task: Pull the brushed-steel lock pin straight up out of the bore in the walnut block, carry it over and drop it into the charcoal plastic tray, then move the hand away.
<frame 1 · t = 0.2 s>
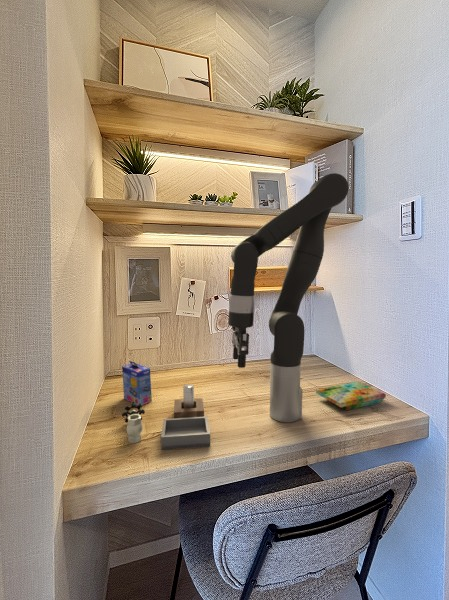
hand: (238, 362, 94), 18 cm above the table, tool pointing down, fingers open, 8 cm apart
ink cartridge box: (137, 400, 109), on the table
tray: (185, 438, 84), on the table
valve: (134, 433, 88), on the table
pin block: (188, 417, 96), on the table
lock pin: (188, 401, 96), in the pin block
puzzle game: (349, 402, 108), on the table
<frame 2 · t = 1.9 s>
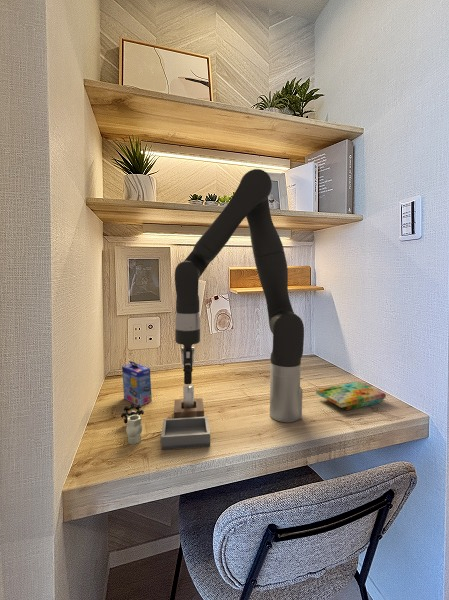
hand: (187, 378, 95), 12 cm above the table, tool pointing down, fingers open, 8 cm apart
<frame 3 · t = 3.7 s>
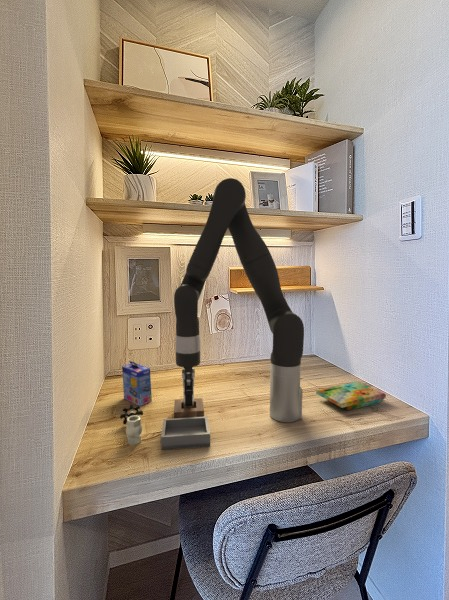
hand: (188, 402, 96), 5 cm above the table, tool pointing down, fingers closed on lock pin, 3 cm apart
lock pin: (188, 401, 96), in the pin block, touching gripper
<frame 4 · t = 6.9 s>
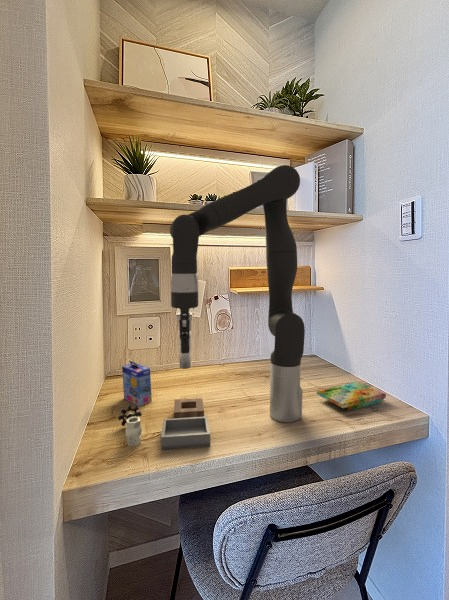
hand: (185, 350, 87), 23 cm above the table, tool pointing down, fingers closed on lock pin, 3 cm apart
lock pin: (185, 349, 87), point 24 cm above the table, touching gripper
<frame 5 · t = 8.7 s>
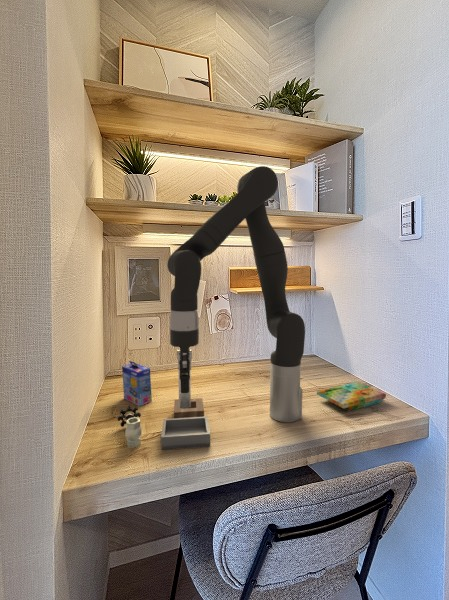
hand: (184, 389, 83), 14 cm above the table, tool pointing down, fingers closed on lock pin, 3 cm apart
lock pin: (184, 388, 83), point 14 cm above the table, touching gripper
when the fingers open (8 cm above the table, at t = 10.4 s): lock pin drops 2 cm, resting on tray.
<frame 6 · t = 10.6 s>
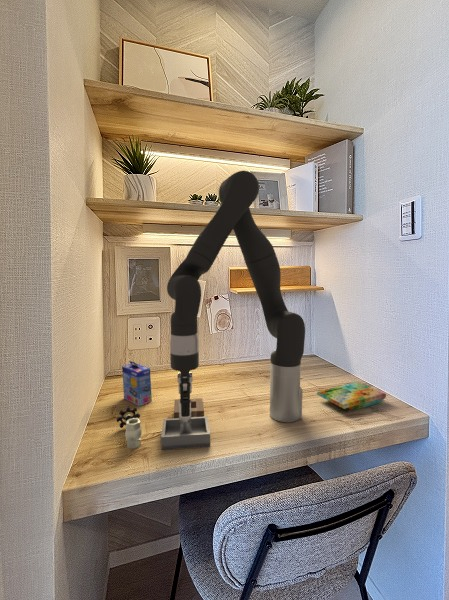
hand: (185, 410, 84), 8 cm above the table, tool pointing down, fingers open, 5 cm apart
lock pin: (185, 417, 84), in the tray, point 6 cm above the table
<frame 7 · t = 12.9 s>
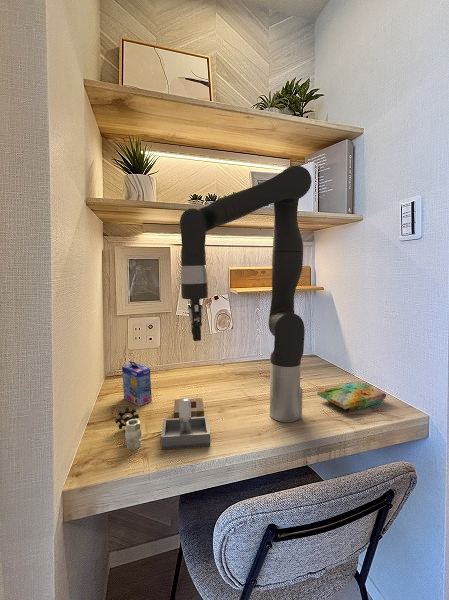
hand: (196, 337, 90), 26 cm above the table, tool pointing down, fingers open, 8 cm apart
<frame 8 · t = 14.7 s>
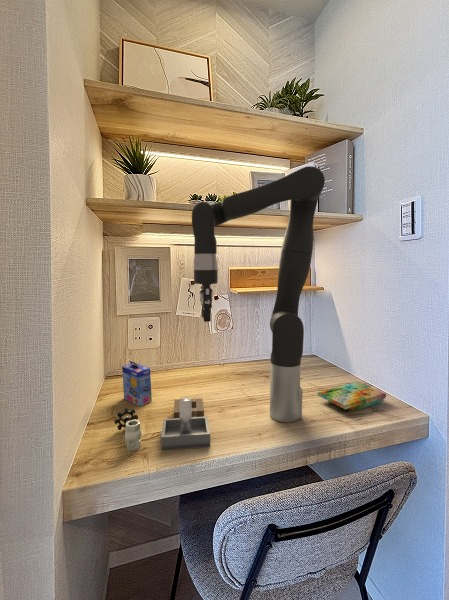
hand: (206, 319, 99), 30 cm above the table, tool pointing down, fingers open, 8 cm apart
at the end: lock pin inside the target area on the tray (0.0 cm from its centre), point 6.0 cm above the tray's base; lock pin moved 12.1 cm from its start; the gripper is holding nothing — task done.
